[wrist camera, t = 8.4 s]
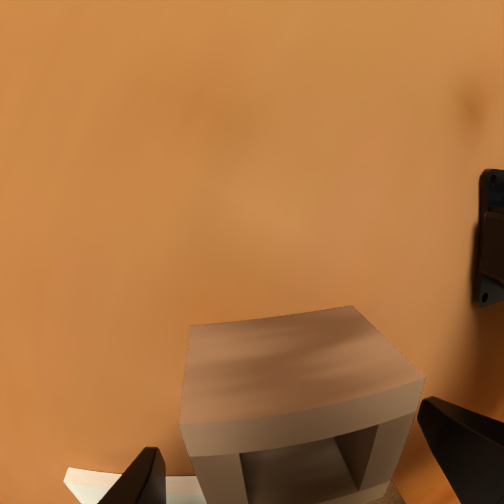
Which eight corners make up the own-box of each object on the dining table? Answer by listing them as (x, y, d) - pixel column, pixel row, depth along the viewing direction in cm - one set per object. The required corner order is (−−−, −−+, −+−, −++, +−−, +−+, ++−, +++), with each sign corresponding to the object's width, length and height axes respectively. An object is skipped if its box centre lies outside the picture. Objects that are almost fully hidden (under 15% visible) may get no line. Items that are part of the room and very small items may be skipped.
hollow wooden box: (352, 305, 11) (425, 377, 6) (341, 418, 13) (383, 496, 8) (190, 325, 11) (178, 424, 6) (213, 439, 12) (218, 530, 7)
